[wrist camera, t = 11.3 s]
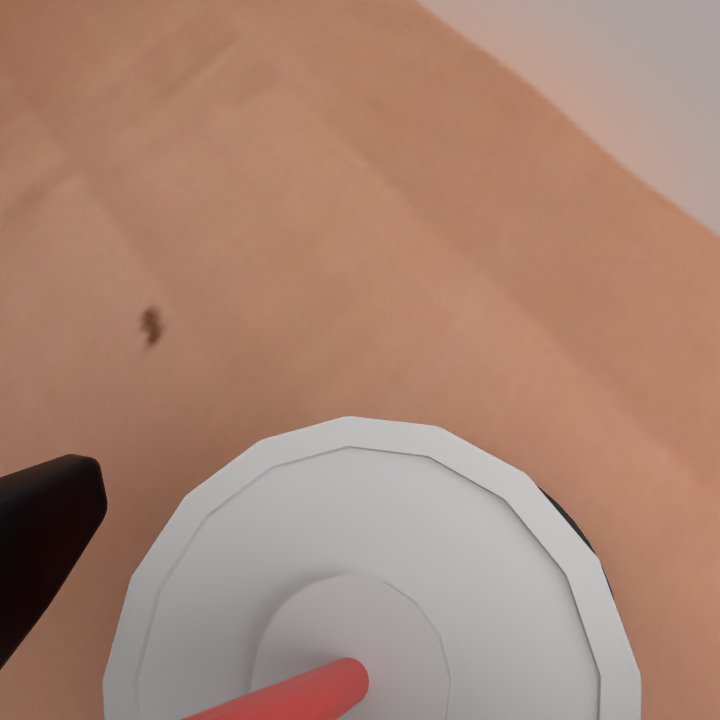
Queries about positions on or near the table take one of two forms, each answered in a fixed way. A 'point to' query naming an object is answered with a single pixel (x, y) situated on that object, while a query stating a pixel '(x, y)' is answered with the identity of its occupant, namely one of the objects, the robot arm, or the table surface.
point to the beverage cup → (369, 592)
